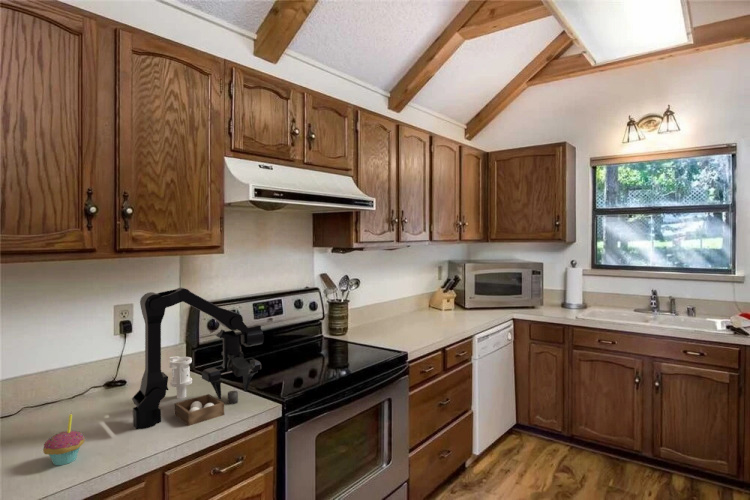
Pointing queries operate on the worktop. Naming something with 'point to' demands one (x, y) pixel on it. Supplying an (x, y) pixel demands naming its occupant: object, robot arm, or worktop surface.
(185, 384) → the white tall flanged cylinder
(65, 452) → the cupcake
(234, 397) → the lid
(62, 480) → the worktop surface
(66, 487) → the worktop surface
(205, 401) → the box
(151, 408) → the robot arm
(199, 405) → the egg
